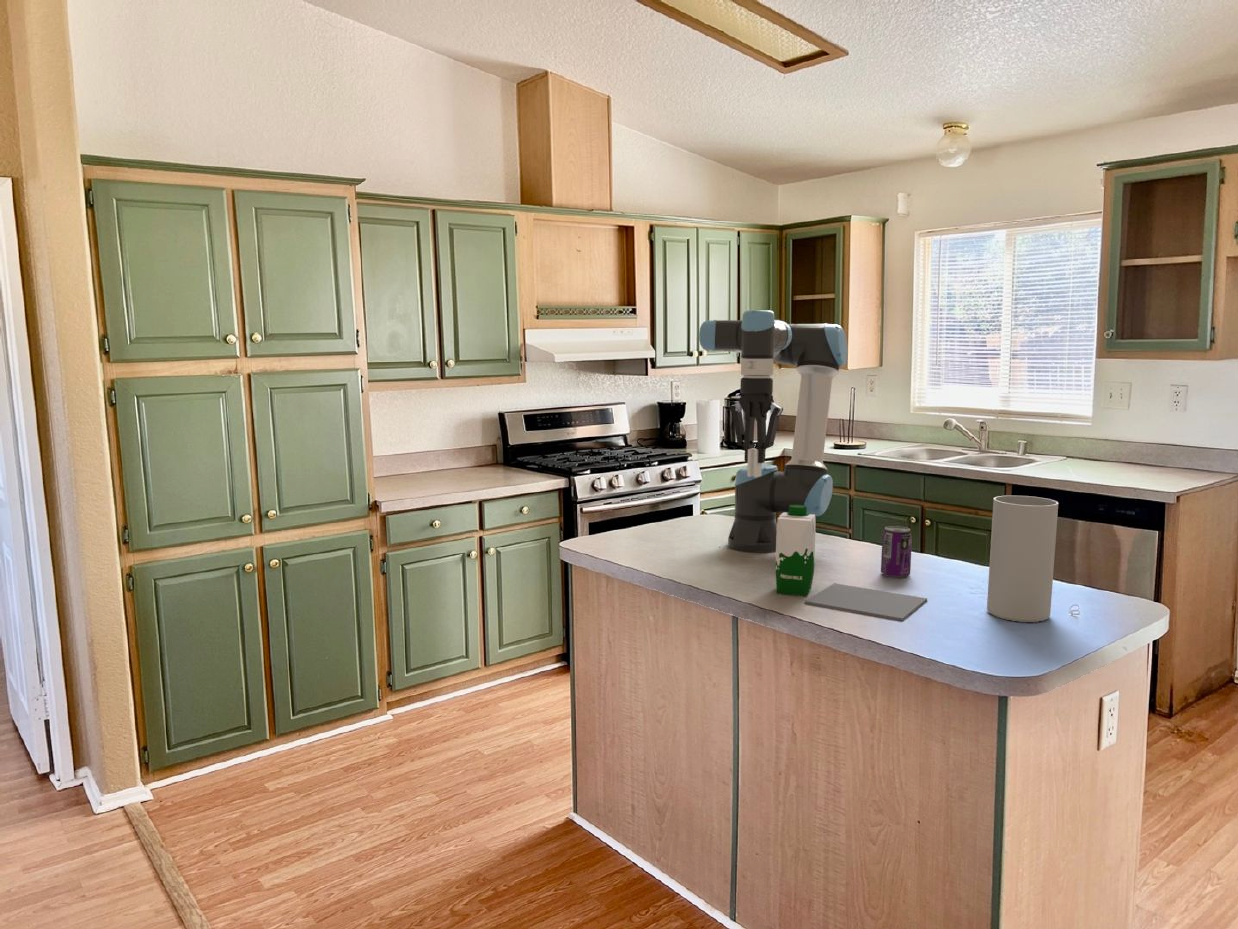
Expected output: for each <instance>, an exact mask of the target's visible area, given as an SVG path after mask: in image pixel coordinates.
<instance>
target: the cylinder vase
mask: <svg viewBox="0 0 1238 929" xmlns="http://www.w3.org/2000/svg"><path fill="white" fill-rule="evenodd" d="M992 503H993V505H992V519H991V533H990V534H991V536H990V537H991V538H990V551H989V553H990V554H989V567H988V586H987V600H986V609H987V612H988V613H990V614H991V615H993V616H994V617H995V618H998V619H1002V620H1005V619H1006V620H1007V621H1009V620H1011V621H1010V622H1015V621H1018V623H1026V622H1033V623H1040V622H1039V621H1042V622H1045V621H1046V619H1047V620H1048V619H1049V618H1050V616H1051V612H1052V611H1051V609H1052V595H1053V581H1054V567H1055V556H1056V555H1055V554H1056V553H1055V552H1056V542H1057V527H1058V526H1057V524H1058V513H1059V511H1058V510H1059V502H1058V501H1057V500H1054V499H1051V498H1046V497H1045V498H1044V497H1038V496H1029V495H1001V496H1000V495H999V496H998V495H997V496H995V497H993V502H992ZM1044 620H1045V621H1044Z"/></svg>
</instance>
